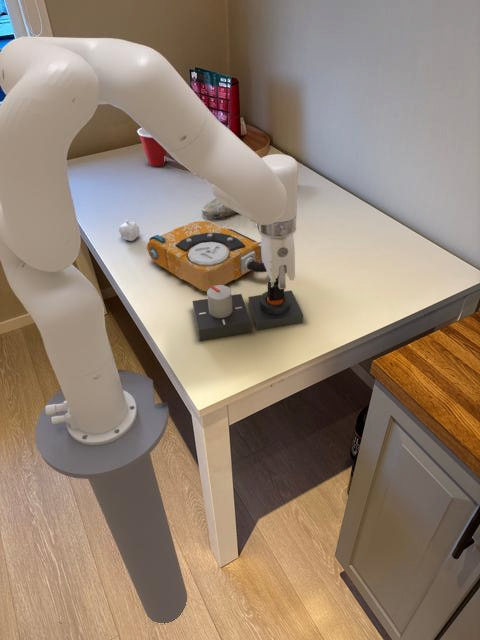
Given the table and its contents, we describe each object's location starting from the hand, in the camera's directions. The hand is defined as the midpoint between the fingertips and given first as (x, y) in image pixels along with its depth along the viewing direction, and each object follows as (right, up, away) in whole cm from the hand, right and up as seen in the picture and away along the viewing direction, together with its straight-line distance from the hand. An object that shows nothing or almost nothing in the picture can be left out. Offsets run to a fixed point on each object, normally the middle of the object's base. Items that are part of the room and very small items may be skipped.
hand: (275, 297), depth 104 cm
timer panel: (-12, -5, +1) cm, 13 cm away
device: (-14, +9, +18) cm, 24 cm away
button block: (0, -3, +3) cm, 4 cm away
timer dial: (-12, -3, -1) cm, 12 cm away
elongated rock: (-4, +32, +45) cm, 55 cm away
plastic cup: (-37, +51, +70) cm, 95 cm away
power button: (0, -1, +1) cm, 2 cm away
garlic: (-38, +18, +30) cm, 52 cm away
